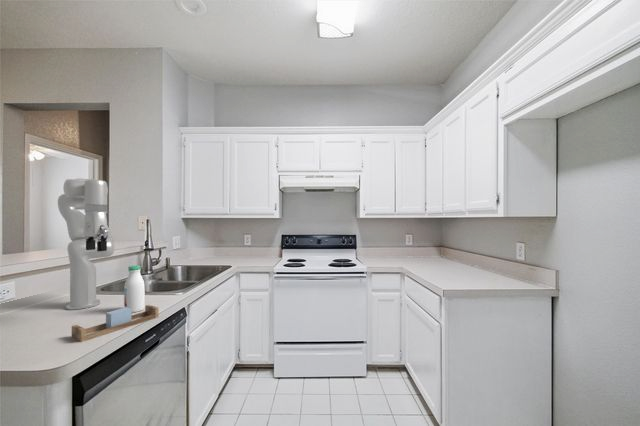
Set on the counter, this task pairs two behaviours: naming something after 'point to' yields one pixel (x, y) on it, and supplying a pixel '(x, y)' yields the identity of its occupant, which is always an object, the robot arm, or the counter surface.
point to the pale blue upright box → (118, 317)
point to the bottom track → (81, 332)
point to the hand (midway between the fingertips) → (96, 250)
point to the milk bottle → (134, 290)
